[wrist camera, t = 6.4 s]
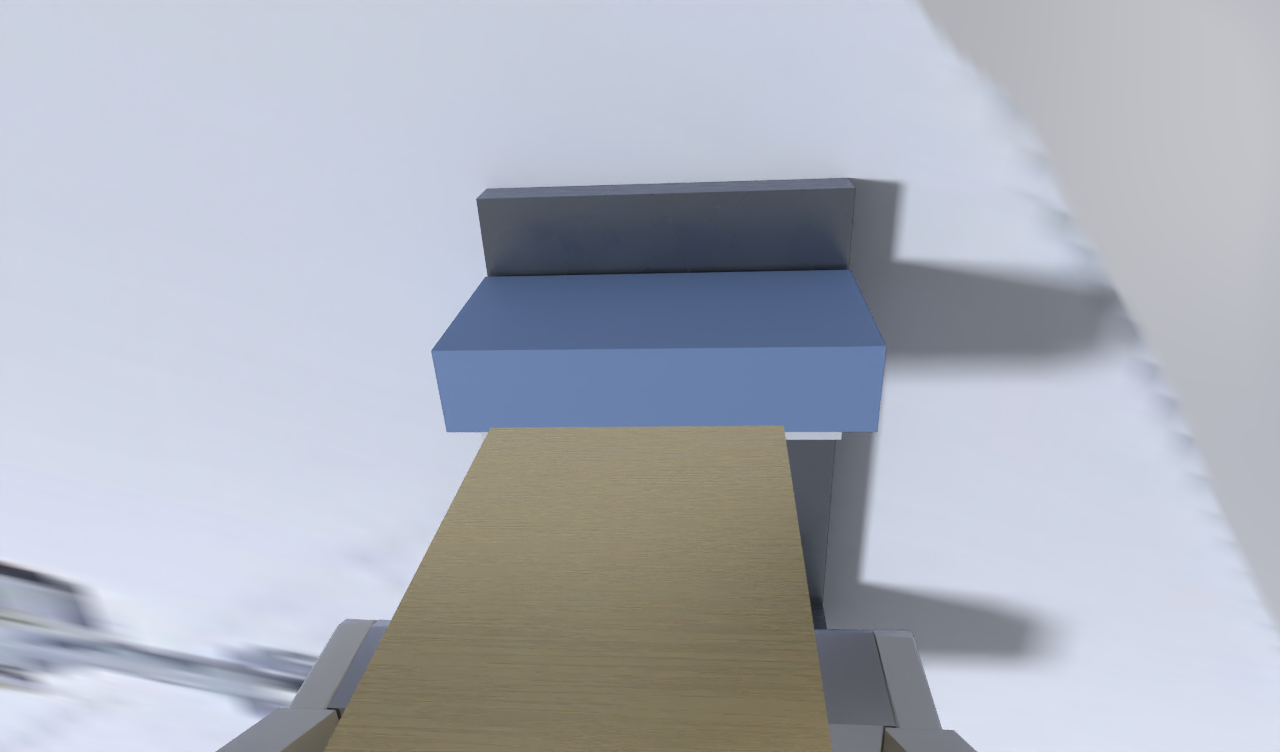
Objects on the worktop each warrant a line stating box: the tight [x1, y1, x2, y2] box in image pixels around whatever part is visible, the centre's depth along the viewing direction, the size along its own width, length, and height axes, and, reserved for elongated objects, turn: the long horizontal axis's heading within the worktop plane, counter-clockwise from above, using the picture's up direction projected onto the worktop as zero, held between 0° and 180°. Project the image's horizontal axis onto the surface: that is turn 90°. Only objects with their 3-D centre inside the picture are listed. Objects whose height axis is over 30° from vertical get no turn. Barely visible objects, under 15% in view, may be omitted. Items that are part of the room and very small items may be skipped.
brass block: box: [323, 426, 832, 752], centre depth 11 cm, size 4×5×7 cm
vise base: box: [476, 178, 855, 629], centre depth 31 cm, size 23×14×8 cm, turn 3°
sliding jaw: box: [431, 270, 886, 440], centre depth 28 cm, size 4×14×7 cm, turn 93°
